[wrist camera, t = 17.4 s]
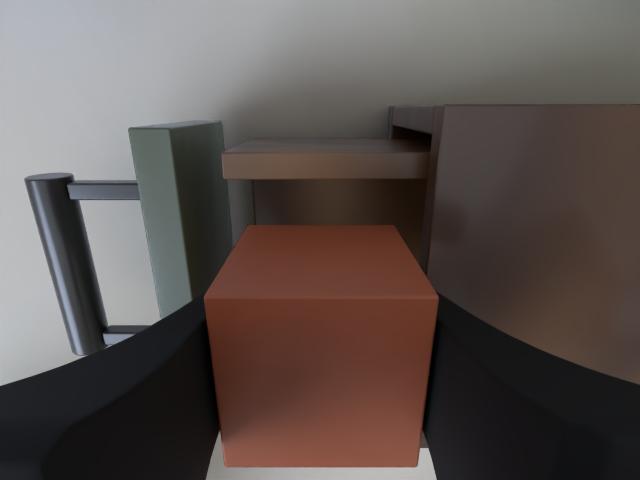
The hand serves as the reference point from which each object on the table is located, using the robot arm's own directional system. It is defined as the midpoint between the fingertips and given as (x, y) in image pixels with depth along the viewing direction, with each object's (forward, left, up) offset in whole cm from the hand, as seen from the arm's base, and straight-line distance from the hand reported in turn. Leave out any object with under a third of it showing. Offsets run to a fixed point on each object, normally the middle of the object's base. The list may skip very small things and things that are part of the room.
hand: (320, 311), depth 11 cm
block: (0, 0, -1) cm, 1 cm away
